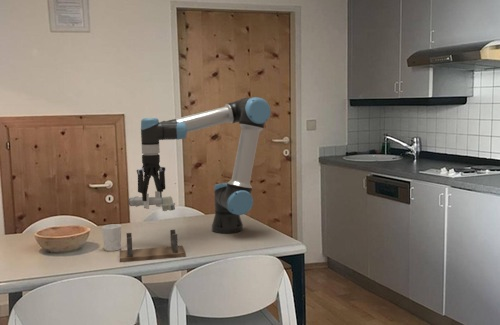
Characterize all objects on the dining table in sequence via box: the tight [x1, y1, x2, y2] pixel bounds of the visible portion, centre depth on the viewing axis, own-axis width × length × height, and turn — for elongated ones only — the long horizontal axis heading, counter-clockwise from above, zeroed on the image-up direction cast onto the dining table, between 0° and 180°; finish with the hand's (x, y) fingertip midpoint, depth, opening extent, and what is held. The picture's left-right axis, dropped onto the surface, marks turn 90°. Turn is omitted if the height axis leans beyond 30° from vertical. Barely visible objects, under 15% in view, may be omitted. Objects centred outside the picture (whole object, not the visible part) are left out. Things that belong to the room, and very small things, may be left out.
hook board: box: [119, 229, 187, 263], centre depth 226 cm, size 26×12×9 cm, turn 103°
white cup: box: [101, 223, 122, 252], centre depth 236 cm, size 8×8×10 cm
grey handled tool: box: [127, 195, 176, 212], centre depth 239 cm, size 5×7×25 cm
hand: (152, 207), depth 239 cm, fingers closed on grey handled tool, 5 cm apart
